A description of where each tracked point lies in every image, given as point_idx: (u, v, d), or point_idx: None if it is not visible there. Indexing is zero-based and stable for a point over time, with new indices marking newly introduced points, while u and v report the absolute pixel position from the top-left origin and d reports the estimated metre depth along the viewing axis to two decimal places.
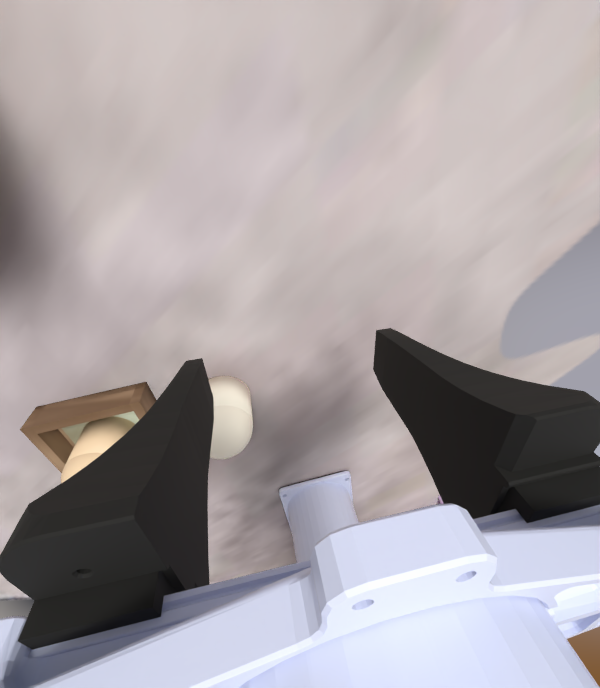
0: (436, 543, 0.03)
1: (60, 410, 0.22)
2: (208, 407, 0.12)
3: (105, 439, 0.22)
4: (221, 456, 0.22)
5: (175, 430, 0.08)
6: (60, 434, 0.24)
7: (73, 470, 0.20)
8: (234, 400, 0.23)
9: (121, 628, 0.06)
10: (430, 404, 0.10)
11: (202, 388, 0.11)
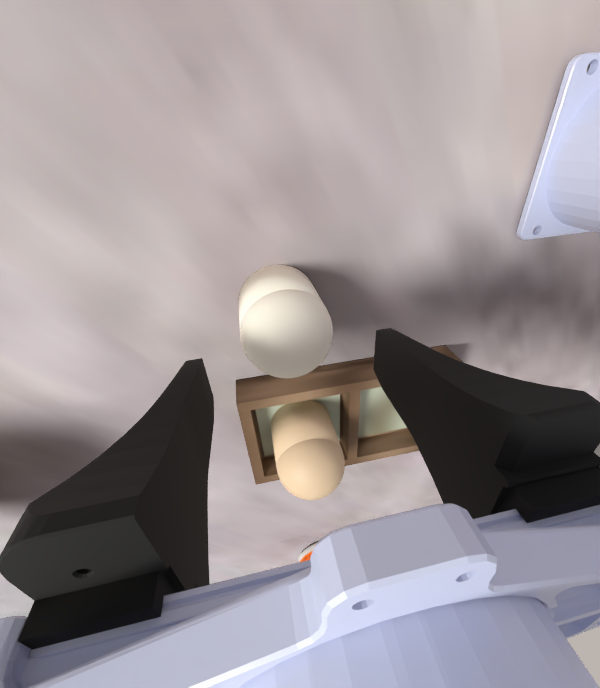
0: (436, 543, 0.03)
1: None
2: (208, 407, 0.12)
3: (276, 442, 0.20)
4: (306, 359, 0.14)
5: (175, 430, 0.08)
6: None
7: (283, 485, 0.19)
8: (245, 306, 0.15)
9: (121, 628, 0.06)
10: (430, 404, 0.10)
11: (202, 388, 0.11)
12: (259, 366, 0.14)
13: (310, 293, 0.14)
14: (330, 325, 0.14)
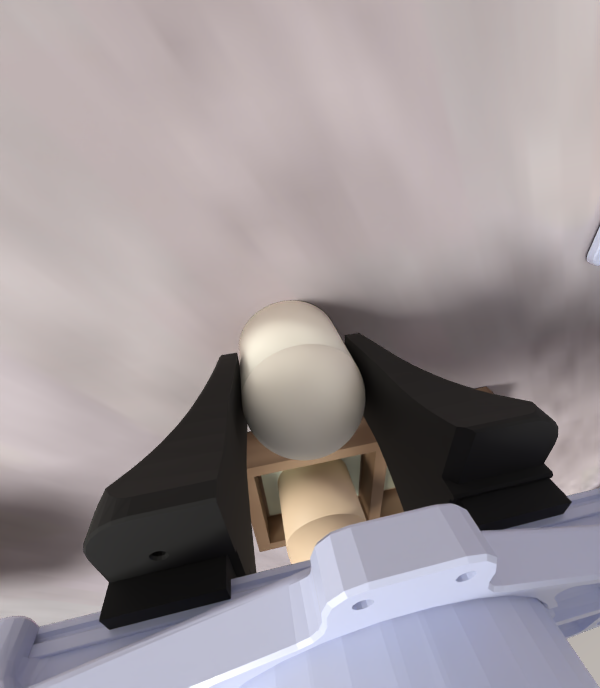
0: (436, 543, 0.03)
1: None
2: None
3: (286, 513, 0.16)
4: (333, 442, 0.10)
5: (227, 420, 0.08)
6: None
7: None
8: (248, 363, 0.11)
9: (194, 609, 0.06)
10: (390, 412, 0.10)
11: (239, 382, 0.11)
12: (268, 447, 0.10)
13: (336, 347, 0.11)
14: (363, 390, 0.11)
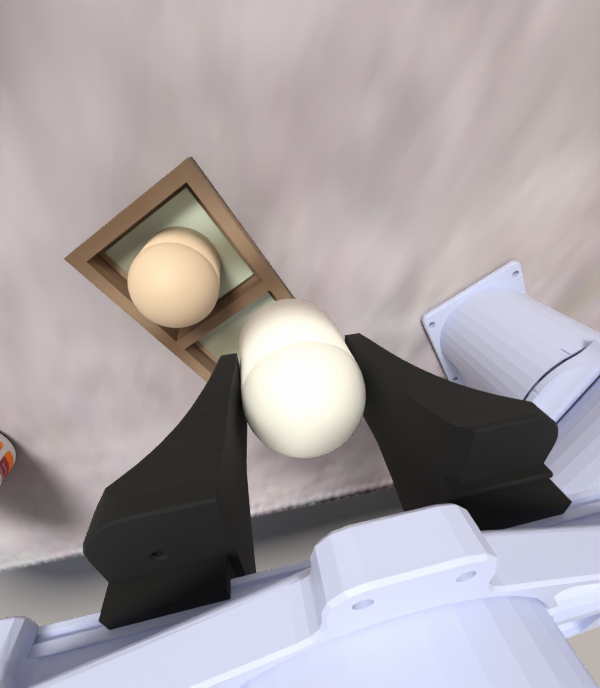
0: (437, 543, 0.03)
1: None
2: None
3: (166, 236, 0.15)
4: (333, 440, 0.10)
5: (227, 420, 0.08)
6: (122, 277, 0.18)
7: (135, 267, 0.14)
8: (249, 360, 0.11)
9: (194, 610, 0.06)
10: (390, 412, 0.10)
11: (239, 382, 0.11)
12: (267, 445, 0.10)
13: (338, 345, 0.11)
14: (364, 389, 0.11)
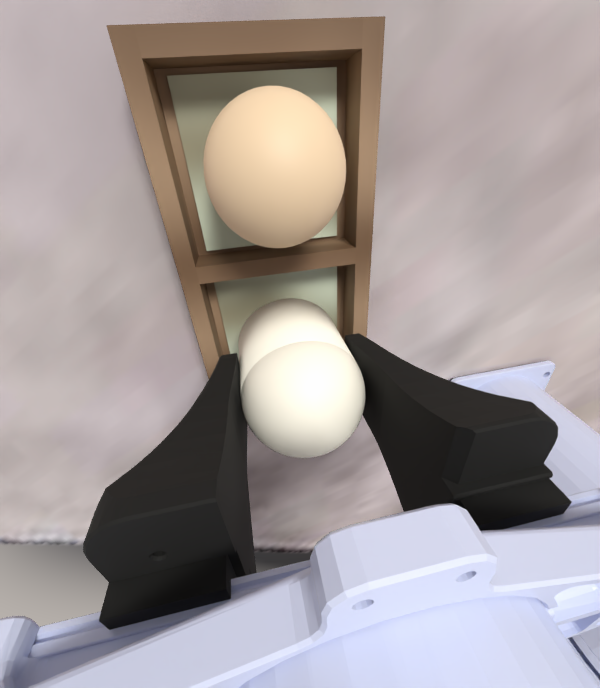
0: (436, 543, 0.03)
1: None
2: None
3: None
4: (333, 440, 0.10)
5: (227, 420, 0.08)
6: (167, 132, 0.11)
7: (257, 96, 0.08)
8: (248, 359, 0.11)
9: (194, 610, 0.06)
10: (390, 412, 0.10)
11: (239, 382, 0.11)
12: (266, 444, 0.10)
13: (338, 345, 0.11)
14: (364, 389, 0.11)
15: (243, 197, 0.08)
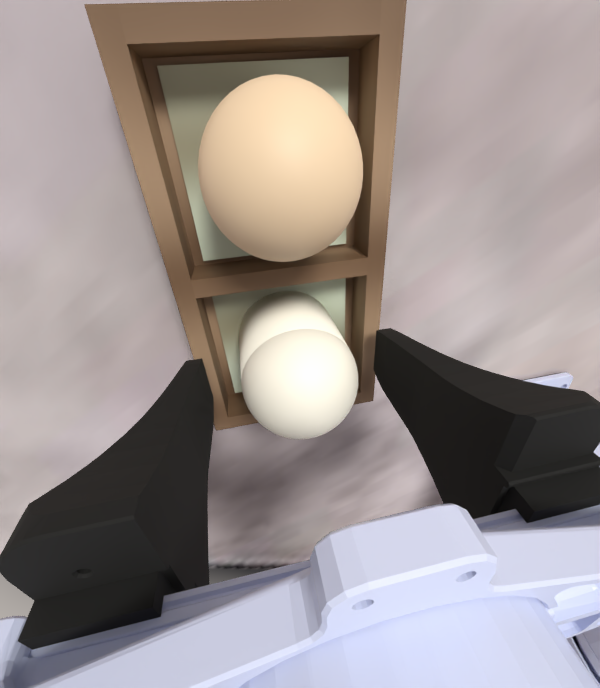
0: (436, 543, 0.03)
1: None
2: (208, 407, 0.12)
3: None
4: (327, 421, 0.10)
5: (175, 430, 0.08)
6: (159, 129, 0.10)
7: (261, 85, 0.06)
8: (248, 346, 0.12)
9: (121, 628, 0.06)
10: (430, 404, 0.10)
11: (202, 388, 0.11)
12: (265, 426, 0.11)
13: (332, 333, 0.11)
14: (357, 375, 0.11)
15: (244, 206, 0.07)
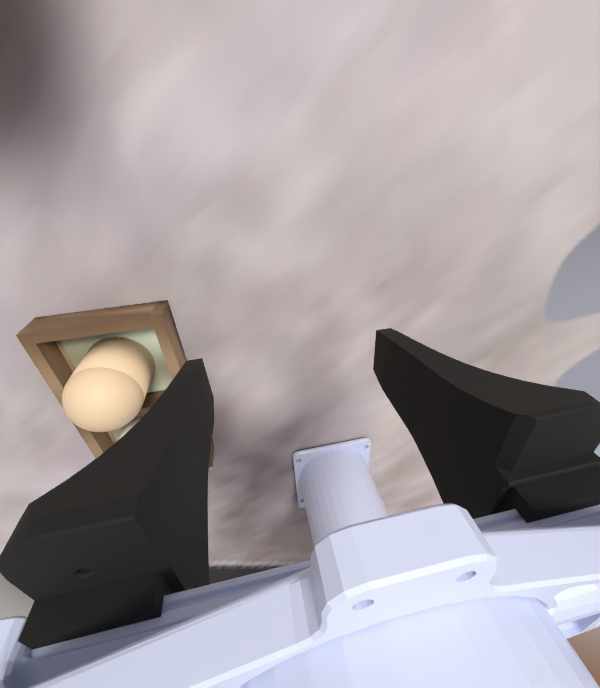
0: (436, 543, 0.03)
1: (65, 320, 0.19)
2: (208, 407, 0.12)
3: (117, 357, 0.19)
4: None
5: (175, 430, 0.08)
6: (60, 353, 0.21)
7: (79, 383, 0.17)
8: None
9: (121, 628, 0.06)
10: (430, 404, 0.10)
11: (202, 388, 0.11)
12: None
13: None
14: None
15: (76, 423, 0.17)
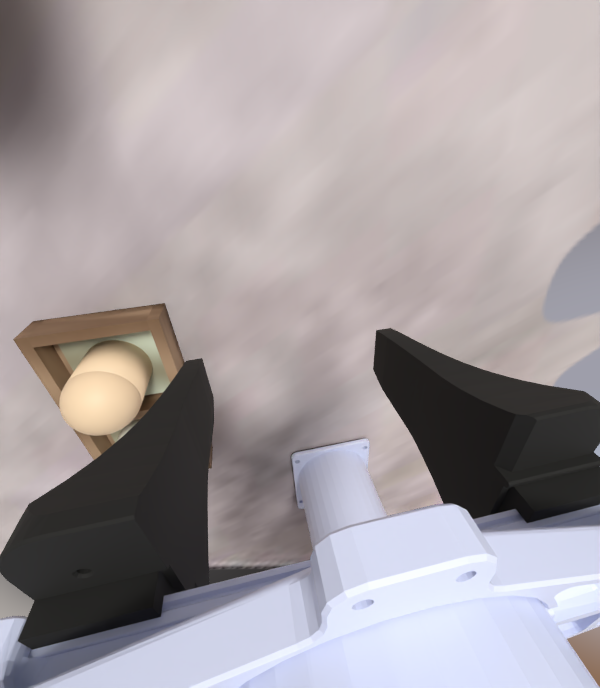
0: (436, 543, 0.03)
1: (62, 324, 0.19)
2: (208, 407, 0.12)
3: (114, 360, 0.19)
4: None
5: (175, 430, 0.08)
6: (58, 357, 0.21)
7: (76, 387, 0.17)
8: None
9: (121, 628, 0.06)
10: (430, 404, 0.10)
11: (202, 388, 0.11)
12: None
13: None
14: None
15: (74, 427, 0.17)
